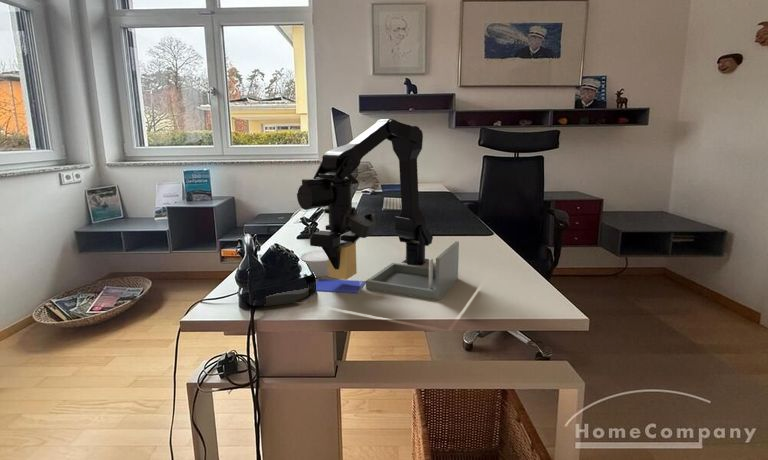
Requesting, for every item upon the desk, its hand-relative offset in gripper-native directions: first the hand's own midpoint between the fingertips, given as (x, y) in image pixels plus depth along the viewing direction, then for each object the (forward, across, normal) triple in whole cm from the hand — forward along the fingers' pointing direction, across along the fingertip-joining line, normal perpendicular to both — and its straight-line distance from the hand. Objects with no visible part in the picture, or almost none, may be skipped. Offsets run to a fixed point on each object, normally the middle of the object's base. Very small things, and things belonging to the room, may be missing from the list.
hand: (342, 266), depth 105 cm
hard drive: (+7, 0, +1) cm, 7 cm away
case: (+6, +9, -15) cm, 18 cm away
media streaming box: (+6, -9, +13) cm, 17 cm away
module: (+2, 0, 0) cm, 2 cm away
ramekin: (+6, +8, +12) cm, 16 cm away
